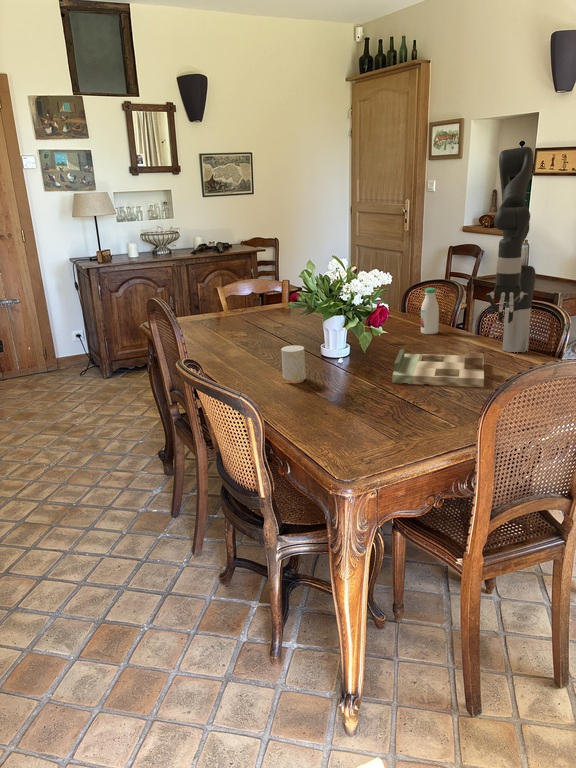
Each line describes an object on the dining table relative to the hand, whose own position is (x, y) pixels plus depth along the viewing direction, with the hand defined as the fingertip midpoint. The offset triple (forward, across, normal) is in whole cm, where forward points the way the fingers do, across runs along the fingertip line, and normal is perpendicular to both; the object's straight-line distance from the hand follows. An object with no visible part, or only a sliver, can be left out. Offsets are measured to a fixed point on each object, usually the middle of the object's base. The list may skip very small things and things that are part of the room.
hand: (505, 322), depth 195 cm
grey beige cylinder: (+19, +71, +15) cm, 75 cm away
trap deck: (+19, +21, 0) cm, 28 cm away
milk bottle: (+19, +29, -58) cm, 68 cm away
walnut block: (+16, +10, 0) cm, 19 cm away
